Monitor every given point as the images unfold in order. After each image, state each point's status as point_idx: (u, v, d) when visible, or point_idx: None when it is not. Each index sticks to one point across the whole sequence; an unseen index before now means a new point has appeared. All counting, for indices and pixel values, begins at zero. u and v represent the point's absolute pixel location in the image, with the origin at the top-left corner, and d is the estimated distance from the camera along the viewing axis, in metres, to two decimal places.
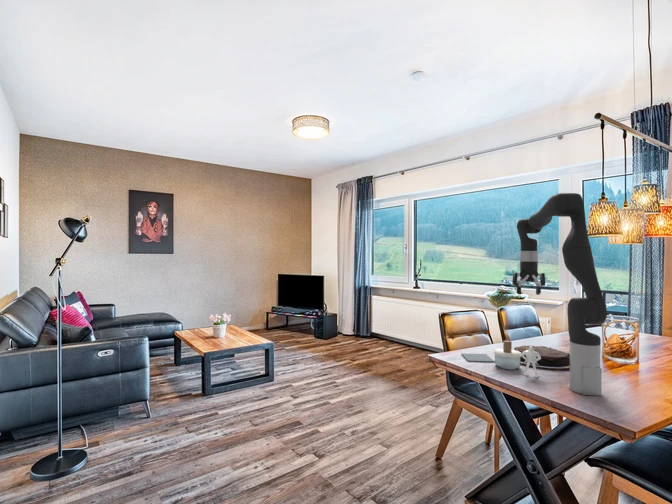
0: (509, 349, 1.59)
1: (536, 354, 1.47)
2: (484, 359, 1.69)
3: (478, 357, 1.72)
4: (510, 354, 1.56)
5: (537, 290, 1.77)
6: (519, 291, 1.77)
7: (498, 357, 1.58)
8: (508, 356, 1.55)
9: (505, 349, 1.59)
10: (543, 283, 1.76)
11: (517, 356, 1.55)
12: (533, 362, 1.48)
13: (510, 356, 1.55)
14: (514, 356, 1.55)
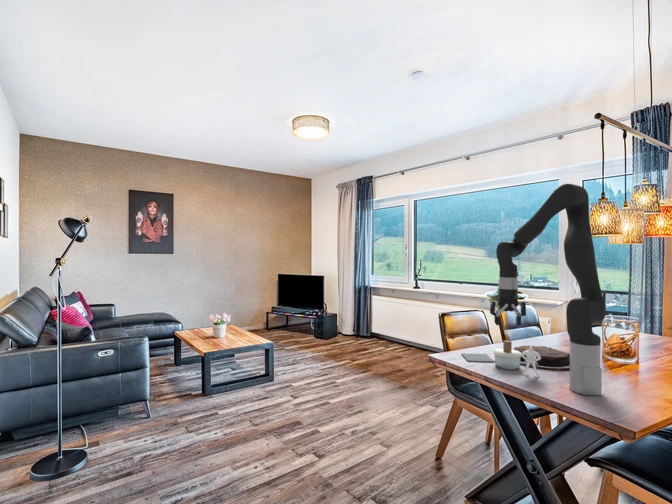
0: (509, 349, 1.59)
1: (536, 354, 1.47)
2: (484, 359, 1.69)
3: (478, 357, 1.72)
4: (510, 354, 1.56)
5: (517, 321, 1.60)
6: (497, 322, 1.60)
7: (498, 357, 1.58)
8: (508, 356, 1.55)
9: (505, 349, 1.59)
10: (524, 313, 1.59)
11: (517, 356, 1.55)
12: (533, 362, 1.48)
13: (510, 356, 1.55)
14: (514, 356, 1.55)
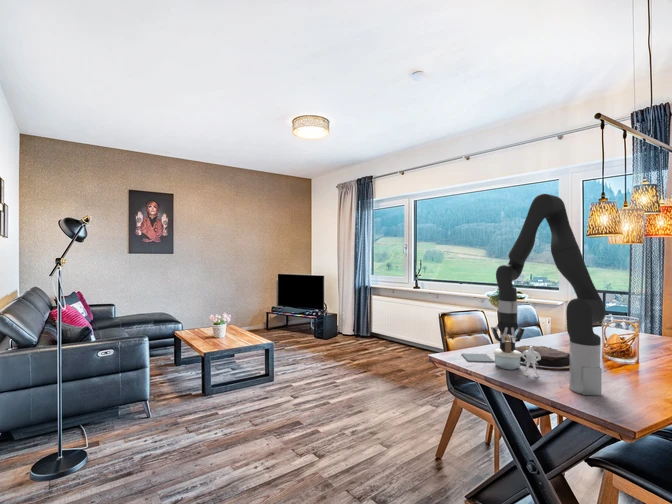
0: (509, 349, 1.59)
1: (536, 354, 1.47)
2: (484, 359, 1.69)
3: (478, 357, 1.72)
4: (510, 354, 1.56)
5: None
6: (502, 348, 1.59)
7: (498, 357, 1.58)
8: (508, 356, 1.55)
9: (505, 349, 1.59)
10: (517, 339, 1.59)
11: (517, 356, 1.55)
12: (533, 362, 1.48)
13: (510, 356, 1.55)
14: (514, 356, 1.55)
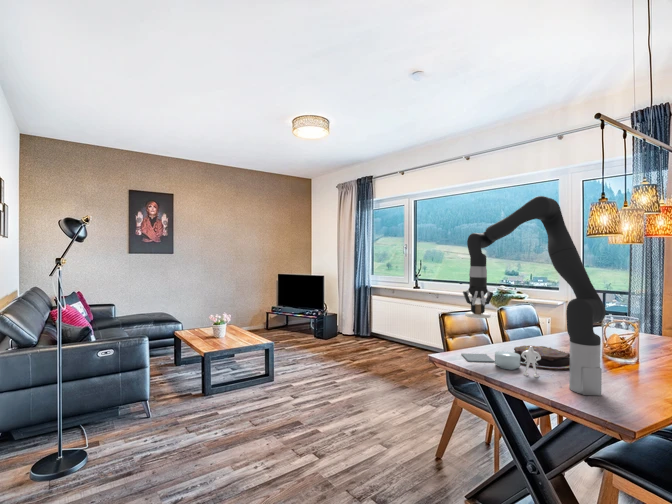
0: (479, 311, 1.71)
1: (536, 354, 1.47)
2: (484, 359, 1.69)
3: (478, 357, 1.72)
4: (479, 315, 1.69)
5: (481, 309, 1.72)
6: (473, 310, 1.72)
7: (498, 357, 1.58)
8: (477, 317, 1.68)
9: (475, 311, 1.72)
10: (487, 302, 1.71)
11: (486, 317, 1.68)
12: (533, 362, 1.48)
13: (479, 317, 1.67)
14: (483, 316, 1.67)
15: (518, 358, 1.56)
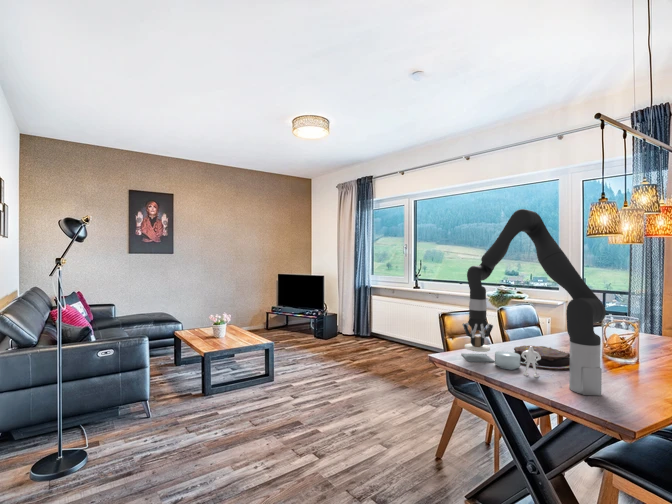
0: (478, 344, 1.71)
1: (536, 354, 1.47)
2: (484, 359, 1.69)
3: (478, 357, 1.72)
4: (479, 348, 1.69)
5: (481, 341, 1.72)
6: (473, 342, 1.72)
7: (498, 357, 1.58)
8: (477, 350, 1.68)
9: (475, 344, 1.72)
10: (486, 334, 1.71)
11: (485, 350, 1.68)
12: (533, 362, 1.48)
13: (479, 350, 1.68)
14: (482, 350, 1.67)
15: (518, 358, 1.56)
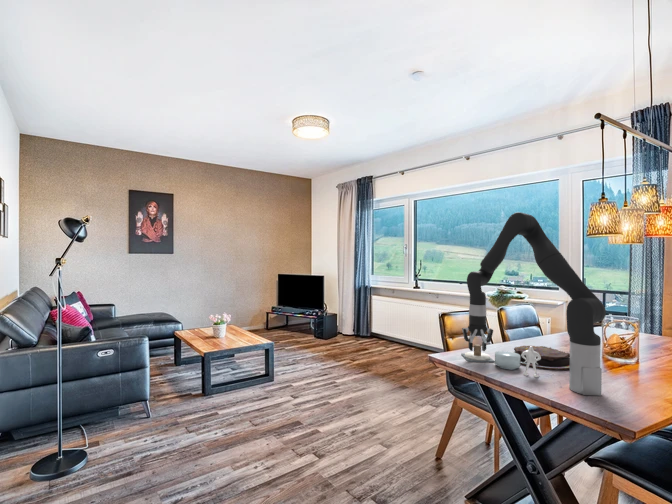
0: (479, 352, 1.71)
1: (536, 354, 1.47)
2: None
3: None
4: (479, 357, 1.69)
5: (483, 346, 1.72)
6: (471, 347, 1.72)
7: (498, 357, 1.58)
8: (477, 359, 1.68)
9: (475, 352, 1.72)
10: (488, 339, 1.71)
11: (485, 359, 1.68)
12: (533, 362, 1.48)
13: (479, 359, 1.67)
14: (482, 359, 1.67)
15: (518, 358, 1.56)
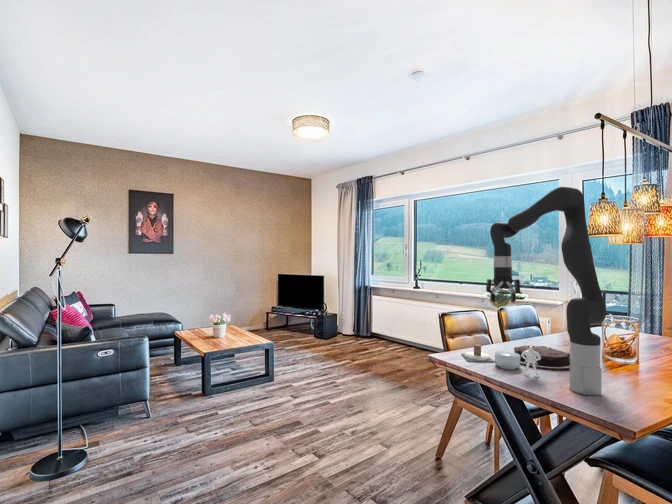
0: (479, 352, 1.71)
1: (536, 354, 1.47)
2: None
3: None
4: (479, 357, 1.69)
5: (512, 297, 1.68)
6: (493, 299, 1.68)
7: (498, 357, 1.58)
8: (477, 359, 1.68)
9: (475, 352, 1.72)
10: (518, 290, 1.67)
11: (485, 359, 1.68)
12: (533, 362, 1.48)
13: (479, 359, 1.67)
14: (482, 359, 1.67)
15: (518, 358, 1.56)
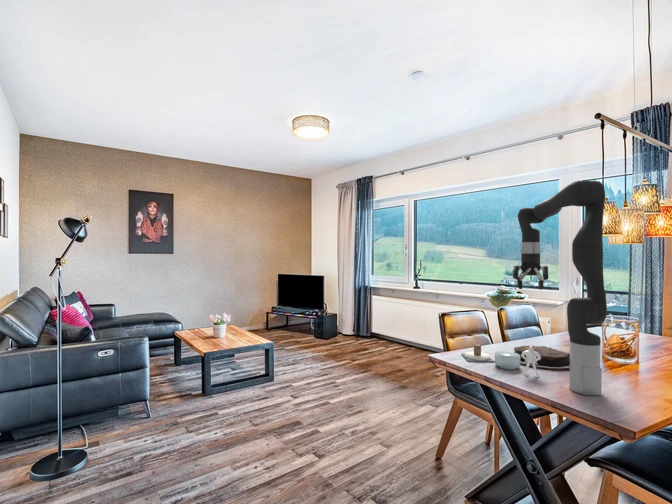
0: (479, 352, 1.71)
1: (536, 354, 1.47)
2: None
3: None
4: (479, 357, 1.69)
5: (539, 284, 1.65)
6: (520, 285, 1.65)
7: (498, 357, 1.58)
8: (477, 359, 1.68)
9: (475, 352, 1.72)
10: (546, 277, 1.64)
11: (485, 359, 1.68)
12: (533, 362, 1.48)
13: (479, 359, 1.67)
14: (482, 359, 1.67)
15: (518, 358, 1.56)
